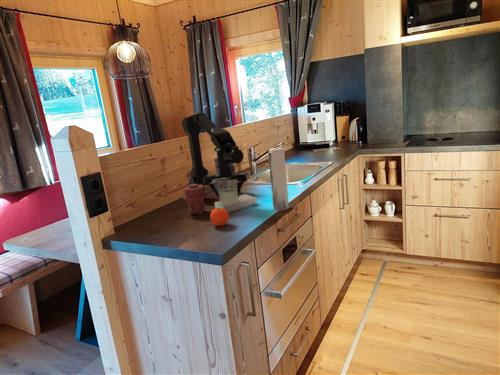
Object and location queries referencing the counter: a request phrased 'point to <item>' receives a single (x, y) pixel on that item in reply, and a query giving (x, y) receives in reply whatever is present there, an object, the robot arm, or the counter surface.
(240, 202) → the beige rectangular block
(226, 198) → the collar
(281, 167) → the tall grey block
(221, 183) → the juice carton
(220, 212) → the clementine
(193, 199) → the mechanical component
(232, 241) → the counter surface
